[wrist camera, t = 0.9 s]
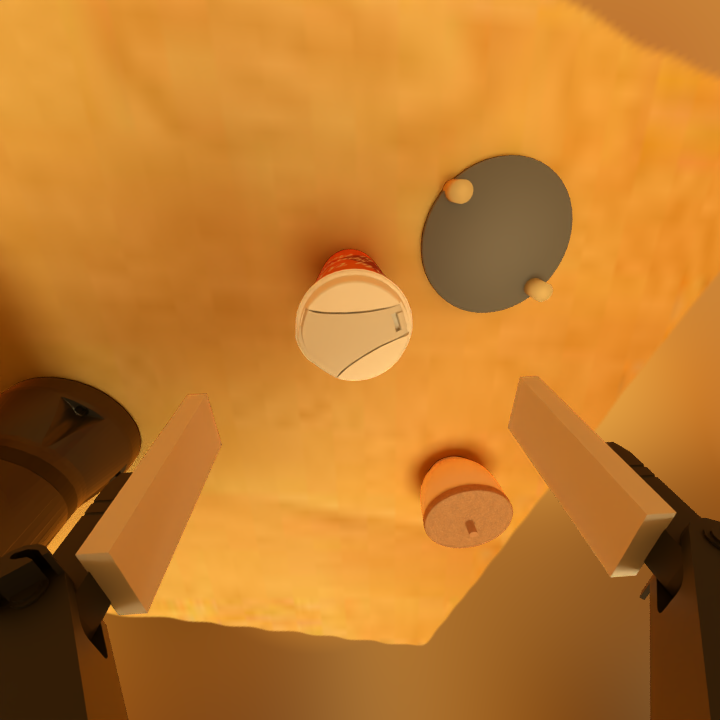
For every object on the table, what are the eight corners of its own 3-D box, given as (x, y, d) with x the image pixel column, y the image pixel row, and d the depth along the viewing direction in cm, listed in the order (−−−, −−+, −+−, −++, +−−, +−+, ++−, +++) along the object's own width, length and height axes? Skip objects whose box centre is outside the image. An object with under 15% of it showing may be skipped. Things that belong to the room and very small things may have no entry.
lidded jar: (408, 498, 49) (421, 562, 41) (418, 442, 44) (436, 503, 36) (478, 497, 50) (506, 561, 42) (496, 443, 45) (531, 503, 36)
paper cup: (376, 225, 31) (399, 255, 19) (397, 301, 34) (428, 368, 22) (297, 252, 32) (269, 299, 19) (326, 323, 35) (318, 401, 23)
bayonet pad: (417, 313, 35) (423, 322, 33) (425, 158, 28) (433, 156, 26) (547, 307, 36) (562, 316, 33) (585, 153, 29) (608, 151, 26)
